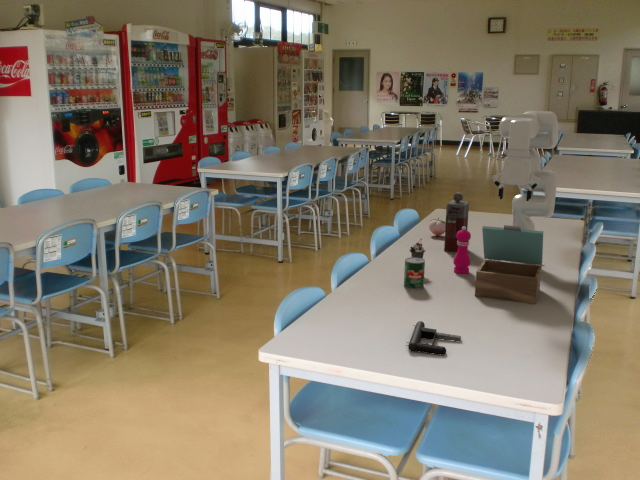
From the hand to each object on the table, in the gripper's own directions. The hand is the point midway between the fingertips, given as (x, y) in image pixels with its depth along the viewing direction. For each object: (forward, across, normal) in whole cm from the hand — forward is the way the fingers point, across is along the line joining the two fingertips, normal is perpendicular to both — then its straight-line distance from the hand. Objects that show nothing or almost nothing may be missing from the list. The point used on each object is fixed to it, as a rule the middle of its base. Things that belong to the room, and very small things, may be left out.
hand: (514, 199), depth 240 cm
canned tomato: (+37, -35, -8) cm, 51 cm away
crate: (+36, 0, -1) cm, 36 cm away
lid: (+18, 0, +2) cm, 18 cm away
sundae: (+36, -39, +9) cm, 54 cm away
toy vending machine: (+36, -32, +53) cm, 72 cm away
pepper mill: (+36, -22, +19) cm, 47 cm away
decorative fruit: (+36, -46, +78) cm, 98 cm away
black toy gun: (+37, -14, -60) cm, 72 cm away
